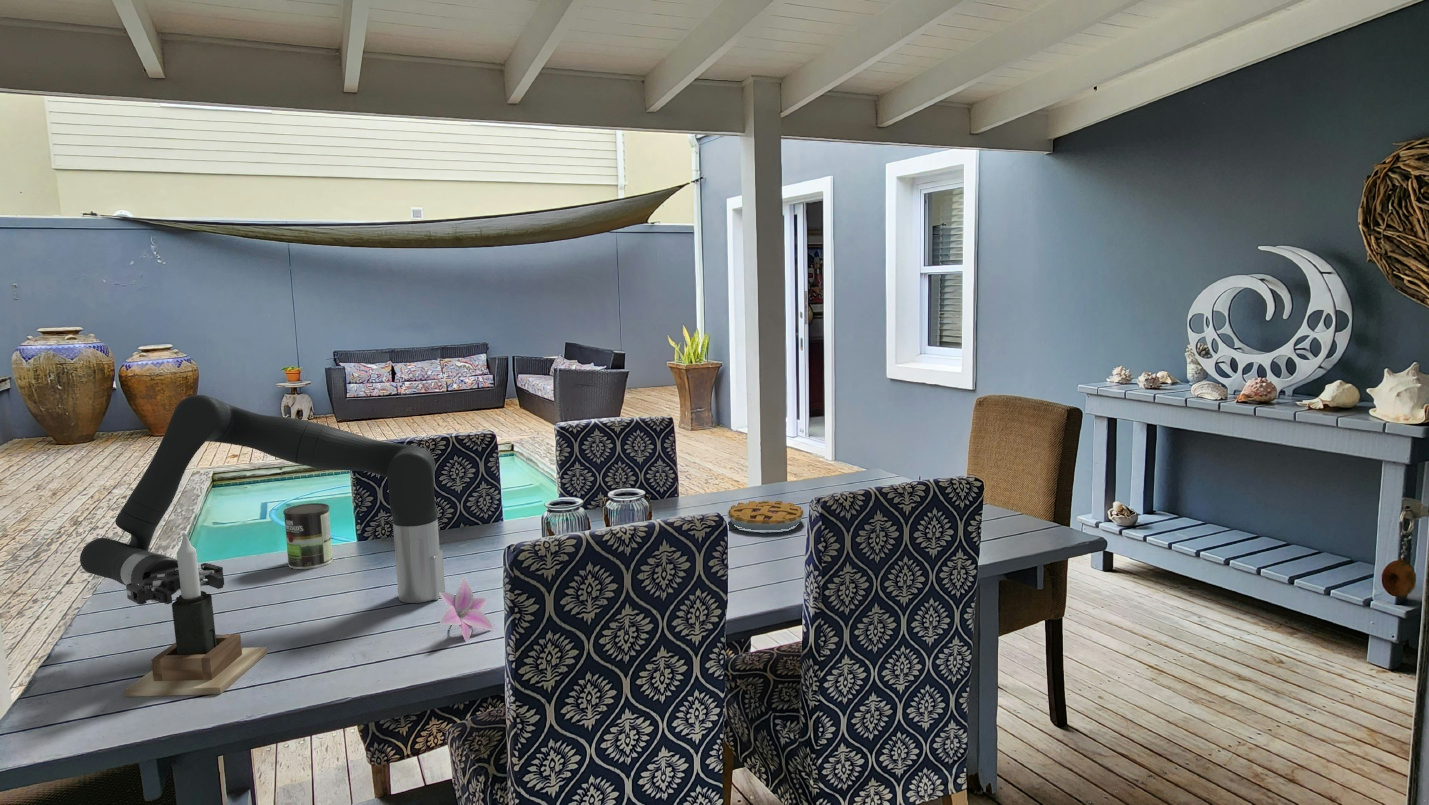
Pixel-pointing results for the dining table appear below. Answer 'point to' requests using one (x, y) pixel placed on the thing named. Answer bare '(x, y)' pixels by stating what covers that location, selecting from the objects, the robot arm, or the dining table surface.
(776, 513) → the pie
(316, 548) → the coffee can
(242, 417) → the robot arm
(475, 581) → the dining table surface
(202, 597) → the candle
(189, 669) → the candle stand
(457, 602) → the lily
